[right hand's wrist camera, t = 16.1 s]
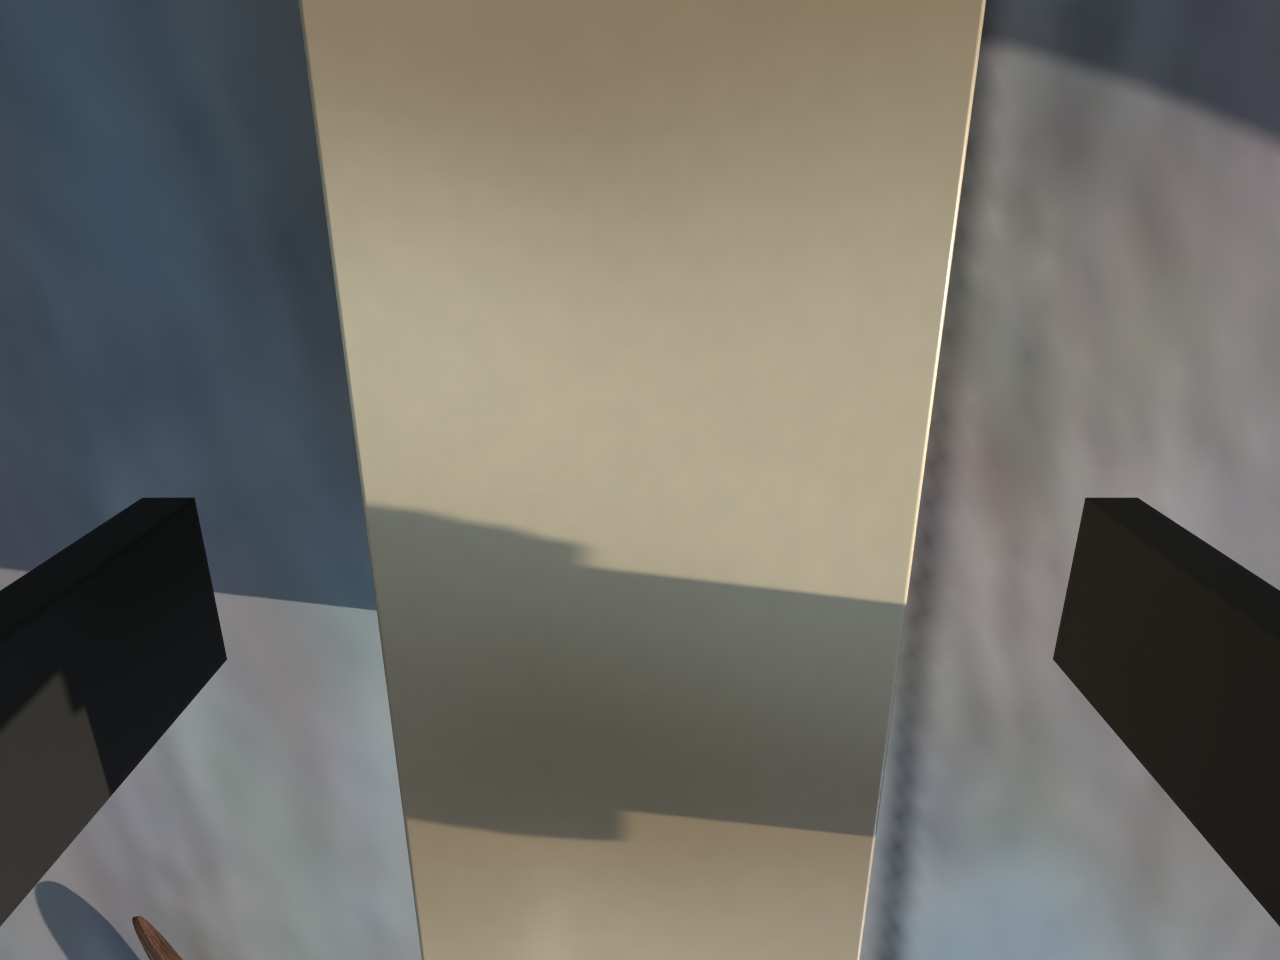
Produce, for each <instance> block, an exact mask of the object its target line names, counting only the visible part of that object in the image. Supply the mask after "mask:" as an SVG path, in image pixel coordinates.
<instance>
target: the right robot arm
mask: <svg viewBox="0 0 1280 960" xmlns="http://www.w3.org/2000/svg"><path fill="white" fill-rule="evenodd" d="M226 660H227V657H226V652H225V647H224V642H223V637H222V632H221V627H220V622H219V617H218V612H217V607H216V602H215V597H214V592H213V587H212V582H211V577H210V572H209V568H208V563H207V558H206V553H205V548H204V543H203V538H202V533H201V528H200V523H199V518H198V513H197V508H196V503H195V498H141V499H140V500H138V501H137V502H135V503H134V504H132V505H131V506H129V507H128V508H126V509H125V510H123V511H122V512H120V513H119V514H117V515H115V516H114V517H112V518H111V519H109V520H108V521H106V522H105V523H103V524H102V525H100V526H99V527H97V528H96V529H94V530H93V531H91V532H89V533H88V534H86V535H85V536H83V537H82V538H80V539H79V540H77V541H76V542H74V543H73V544H71V545H70V546H68V547H67V548H65V549H63V550H62V551H60V552H59V553H57V554H56V555H54V556H53V557H51V558H50V559H48V560H47V561H45V562H44V563H42V564H41V565H39V566H37V567H36V568H34V569H33V570H31V571H30V572H28V573H27V574H25V575H24V576H22V577H21V578H19V579H18V580H16V581H15V582H13V583H11V584H10V585H8V586H7V587H5V588H4V589H2V590H1V591H0V926H1V925H2V924H3V923H4V921H5V920H6V919H7V918H8V917H9V916H10V914H11V913H12V912H13V911H14V910H15V908H16V907H17V906H18V905H19V904H20V903H21V901H22V900H23V899H24V898H25V897H26V895H27V894H28V893H29V892H30V891H31V890H32V888H33V887H34V886H35V885H36V884H37V883H38V881H39V880H40V879H41V878H42V877H43V875H44V874H45V873H46V872H47V871H48V870H49V868H50V867H51V866H52V865H53V864H54V862H55V861H56V860H57V859H58V858H59V857H60V855H61V854H62V853H63V852H64V851H65V850H66V848H67V847H68V846H69V845H70V844H71V842H72V841H73V840H74V839H75V838H76V837H77V835H78V834H79V833H80V832H81V831H82V829H83V828H84V827H85V826H86V825H87V824H88V822H89V821H90V820H91V819H92V818H93V817H94V815H95V814H96V813H97V812H98V811H99V809H100V808H101V807H102V806H103V805H104V804H105V802H106V801H107V800H108V799H109V798H110V796H111V795H112V794H113V793H114V792H115V791H116V789H117V788H118V787H119V786H120V785H121V784H122V782H123V781H124V780H125V779H126V778H127V776H128V775H129V774H130V773H131V772H132V771H133V769H134V768H135V767H136V766H137V765H138V763H139V762H140V761H141V760H142V759H143V758H144V756H145V755H146V754H147V753H148V752H149V751H150V749H151V748H152V747H153V746H154V745H155V743H156V742H157V741H158V740H159V739H160V738H161V736H162V735H163V734H164V733H165V732H166V730H167V729H168V728H169V727H170V726H171V725H172V723H173V722H174V721H175V720H176V719H177V718H178V716H179V715H180V714H181V713H182V712H183V710H184V709H185V708H186V707H187V706H188V705H189V703H190V702H191V701H192V700H193V699H194V697H195V696H196V695H197V694H198V693H199V692H200V690H201V689H202V688H203V687H204V686H205V685H206V683H207V682H208V681H209V680H210V679H211V677H212V676H213V675H214V674H215V673H216V672H217V670H218V669H219V668H220V667H221V666H222V664H223V663H224V662H225V661H226ZM1053 660H1054V661H1055V662H1056V663H1057V664H1058V666H1059V667H1060V668H1061V669H1062V670H1063V672H1064V673H1065V674H1066V675H1067V676H1068V677H1069V679H1070V680H1071V681H1072V682H1073V683H1074V685H1075V686H1076V687H1077V688H1078V689H1079V690H1080V692H1081V693H1082V694H1083V695H1084V696H1085V697H1086V699H1087V700H1088V701H1089V702H1090V703H1091V705H1092V706H1093V707H1094V708H1095V709H1096V710H1097V712H1098V713H1099V714H1100V715H1101V716H1102V718H1103V719H1104V720H1105V721H1106V722H1107V723H1108V725H1109V726H1110V727H1111V728H1112V729H1113V730H1114V732H1115V733H1116V734H1117V735H1118V736H1119V738H1120V739H1121V740H1122V741H1123V742H1124V743H1125V745H1126V746H1127V747H1128V748H1129V749H1130V751H1131V752H1132V753H1133V754H1134V755H1135V756H1136V758H1137V759H1138V760H1139V761H1140V762H1141V763H1142V765H1143V766H1144V767H1145V768H1146V769H1147V771H1148V772H1149V773H1150V774H1151V775H1152V776H1153V778H1154V779H1155V780H1156V781H1157V782H1158V784H1159V785H1160V786H1161V787H1162V788H1163V789H1164V791H1165V792H1166V793H1167V794H1168V795H1169V796H1170V798H1171V799H1172V800H1173V801H1174V802H1175V804H1176V805H1177V806H1178V807H1179V808H1180V809H1181V811H1182V812H1183V813H1184V814H1185V815H1186V817H1187V818H1188V819H1189V820H1190V821H1191V822H1192V824H1193V825H1194V826H1195V827H1196V828H1197V829H1198V831H1199V832H1200V833H1201V834H1202V835H1203V837H1204V838H1205V839H1206V840H1207V841H1208V842H1209V844H1210V845H1211V846H1212V847H1213V848H1214V850H1215V851H1216V852H1217V853H1218V854H1219V855H1220V857H1221V858H1222V859H1223V860H1224V861H1225V862H1226V864H1227V865H1228V866H1229V867H1230V868H1231V870H1232V871H1233V872H1234V873H1235V874H1236V875H1237V877H1238V878H1239V879H1240V880H1241V881H1242V883H1243V884H1244V885H1245V886H1246V887H1247V888H1248V890H1249V891H1250V892H1251V893H1252V894H1253V895H1254V897H1255V898H1256V899H1257V900H1258V901H1259V903H1260V904H1261V905H1262V906H1263V907H1264V908H1265V910H1266V911H1267V912H1268V913H1269V914H1270V916H1271V917H1272V918H1273V919H1274V920H1275V921H1276V923H1277V924H1278V925H1279V926H1280V591H1279V590H1278V589H1276V588H1275V587H1273V586H1272V585H1270V584H1269V583H1267V582H1265V581H1264V580H1262V579H1261V578H1259V577H1258V576H1256V575H1255V574H1253V573H1252V572H1250V571H1249V570H1247V569H1246V568H1244V567H1243V566H1241V565H1239V564H1238V563H1236V562H1235V561H1233V560H1232V559H1230V558H1229V557H1227V556H1226V555H1224V554H1223V553H1221V552H1220V551H1218V550H1217V549H1215V548H1213V547H1212V546H1210V545H1209V544H1207V543H1206V542H1204V541H1203V540H1201V539H1200V538H1198V537H1197V536H1195V535H1194V534H1192V533H1191V532H1189V531H1187V530H1186V529H1184V528H1183V527H1181V526H1180V525H1178V524H1177V523H1175V522H1174V521H1172V520H1171V519H1169V518H1168V517H1166V516H1165V515H1163V514H1161V513H1160V512H1158V511H1157V510H1155V509H1154V508H1152V507H1151V506H1149V505H1148V504H1146V503H1145V502H1143V501H1142V500H1140V499H1139V498H1085V503H1084V508H1083V513H1082V518H1081V523H1080V528H1079V533H1078V538H1077V543H1076V548H1075V553H1074V558H1073V563H1072V568H1071V572H1070V577H1069V582H1068V587H1067V592H1066V597H1065V602H1064V607H1063V612H1062V617H1061V622H1060V627H1059V632H1058V637H1057V642H1056V647H1055V652H1054V657H1053Z"/></svg>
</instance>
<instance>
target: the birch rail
mask: <svg viewBox="0 0 1280 960" xmlns="http://www.w3.org/2000/svg"><path fill="white" fill-rule="evenodd" d="M298 4H299V12H300V20H301V27H302V35H303V43H304V51H305V58H306V66H307V74H308V81H309V89H310V97H311V105H312V112H313V120H314V128H315V136H316V143H317V151H318V159H319V167H320V174H321V182H322V190H323V197H324V205H325V213H326V221H327V228H328V236H329V244H330V252H331V259H332V267H333V275H334V283H335V290H336V298H337V306H338V313H339V321H340V329H341V337H342V344H343V352H344V360H345V368H346V375H347V383H348V391H349V399H350V406H351V414H352V422H353V429H354V437H355V445H356V453H357V460H358V468H359V476H360V484H361V491H362V499H363V507H364V515H365V522H366V530H367V538H368V545H369V553H370V561H371V569H372V576H373V584H374V592H375V600H376V607H377V615H378V623H379V631H380V638H381V646H382V654H383V661H384V669H385V677H386V685H387V692H388V700H389V708H390V716H391V723H392V731H393V739H394V746H395V754H396V762H397V770H398V777H399V785H400V793H401V801H402V808H403V816H404V824H405V832H406V839H407V847H408V855H409V862H410V870H411V878H412V886H413V893H414V901H415V909H416V917H417V924H418V932H419V940H420V948H421V955H422V960H859V959H860V952H861V944H862V936H863V929H864V921H865V914H866V906H867V899H868V891H869V883H870V876H871V868H872V861H873V853H874V846H875V838H876V830H877V823H878V815H879V808H880V800H881V792H882V785H883V777H884V770H885V762H886V755H887V747H888V739H889V732H890V724H891V717H892V709H893V702H894V694H895V686H896V679H897V671H898V664H899V656H900V648H901V641H902V633H903V626H904V618H905V611H906V603H907V595H908V588H909V580H910V573H911V565H912V558H913V550H914V542H915V535H916V527H917V520H918V512H919V504H920V497H921V489H922V482H923V474H924V467H925V459H926V451H927V444H928V436H929V429H930V421H931V414H932V406H933V398H934V391H935V383H936V376H937V368H938V361H939V353H940V345H941V338H942V330H943V323H944V315H945V307H946V300H947V292H948V285H949V277H950V270H951V262H952V254H953V247H954V239H955V232H956V224H957V217H958V209H959V201H960V194H961V186H962V179H963V171H964V163H965V156H966V148H967V141H968V133H969V126H970V118H971V110H972V103H973V95H974V88H975V80H976V73H977V65H978V57H979V50H980V42H981V35H982V27H983V19H984V12H985V4H986V0H298Z"/></svg>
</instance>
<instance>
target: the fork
mask: <svg viewBox="0 0 1280 960" xmlns="http://www.w3.org/2000/svg"><path fill="white" fill-rule="evenodd" d="M132 921H133V925H134V928H135V931H136V933H137V935H138V938H139V940H140V942H141V944H142V946H143V948H144V950H145V952H146V953H147V955H148V957H149V959H150V960H182V958H181V957H180V956H179V955H178V954H177V952H176V951H175V950H174V949H173V948H172V946H171V945H170V944H169V943H168V942H167V941H166V940H165V939H164V937H163V936H162V935H161V934H160V933H159V932H158V931H157V930H156V929H155V928H154V927H153V926H152V925H151V924H150V923H149V922H148V921H147V920H145V919H144V918H143V917H141V916H137V917H133V918H132Z"/></svg>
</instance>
